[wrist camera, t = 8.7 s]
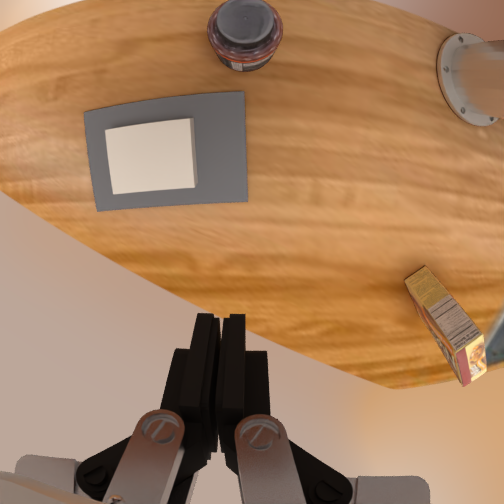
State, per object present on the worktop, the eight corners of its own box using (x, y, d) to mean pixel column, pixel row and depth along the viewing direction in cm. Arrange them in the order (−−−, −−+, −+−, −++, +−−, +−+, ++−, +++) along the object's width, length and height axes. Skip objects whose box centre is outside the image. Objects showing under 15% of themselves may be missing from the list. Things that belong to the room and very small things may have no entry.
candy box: (439, 303, 42) (489, 370, 28) (418, 318, 43) (463, 389, 29) (425, 263, 39) (485, 332, 25) (401, 280, 40) (454, 355, 26)
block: (189, 118, 28) (104, 130, 27) (194, 187, 31) (113, 194, 31) (193, 117, 30) (114, 127, 30) (198, 181, 33) (121, 188, 33)
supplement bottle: (210, 28, 26) (194, -7, 16) (266, 17, 25) (277, -23, 15) (223, 78, 28) (211, 63, 18) (279, 67, 28) (297, 47, 18)
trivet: (244, 91, 29) (244, 91, 29) (247, 200, 34) (248, 201, 34) (85, 112, 29) (83, 112, 29) (98, 210, 34) (97, 211, 34)
